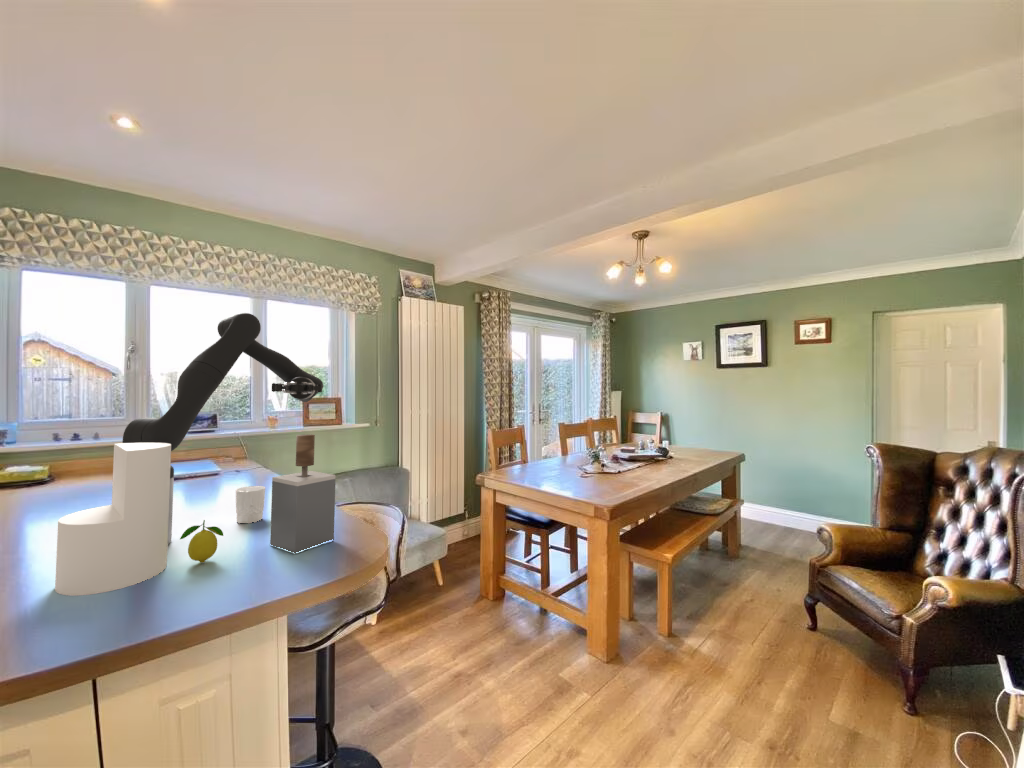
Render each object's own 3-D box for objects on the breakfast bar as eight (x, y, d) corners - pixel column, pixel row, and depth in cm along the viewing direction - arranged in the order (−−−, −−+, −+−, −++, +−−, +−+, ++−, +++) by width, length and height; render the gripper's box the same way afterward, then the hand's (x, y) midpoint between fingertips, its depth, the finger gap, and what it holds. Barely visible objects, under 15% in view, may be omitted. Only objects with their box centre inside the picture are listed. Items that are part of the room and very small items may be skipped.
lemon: (178, 569, 92) (180, 525, 92) (191, 559, 98) (192, 517, 98) (212, 566, 94) (214, 523, 94) (223, 556, 99) (224, 515, 100)
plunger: (297, 543, 104) (300, 437, 105) (280, 537, 108) (283, 435, 108) (324, 534, 110) (327, 435, 111) (307, 529, 114) (310, 433, 115)
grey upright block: (295, 554, 101) (297, 482, 102) (270, 545, 107) (272, 477, 107) (333, 541, 111) (335, 475, 111) (309, 533, 116) (310, 470, 117)
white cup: (253, 524, 123) (254, 491, 124) (228, 524, 124) (229, 491, 124) (269, 517, 131) (270, 486, 132) (245, 516, 131) (246, 485, 132)
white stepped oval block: (158, 554, 100) (162, 440, 101) (175, 574, 90) (179, 447, 90) (52, 577, 87) (58, 447, 88) (57, 605, 76) (64, 455, 77)
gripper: (279, 376, 137) (268, 374, 122) (325, 377, 142) (320, 376, 127) (278, 398, 137) (267, 399, 122) (324, 399, 142) (319, 400, 126)
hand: (294, 387), depth 124 cm, fingers open, 8 cm apart
